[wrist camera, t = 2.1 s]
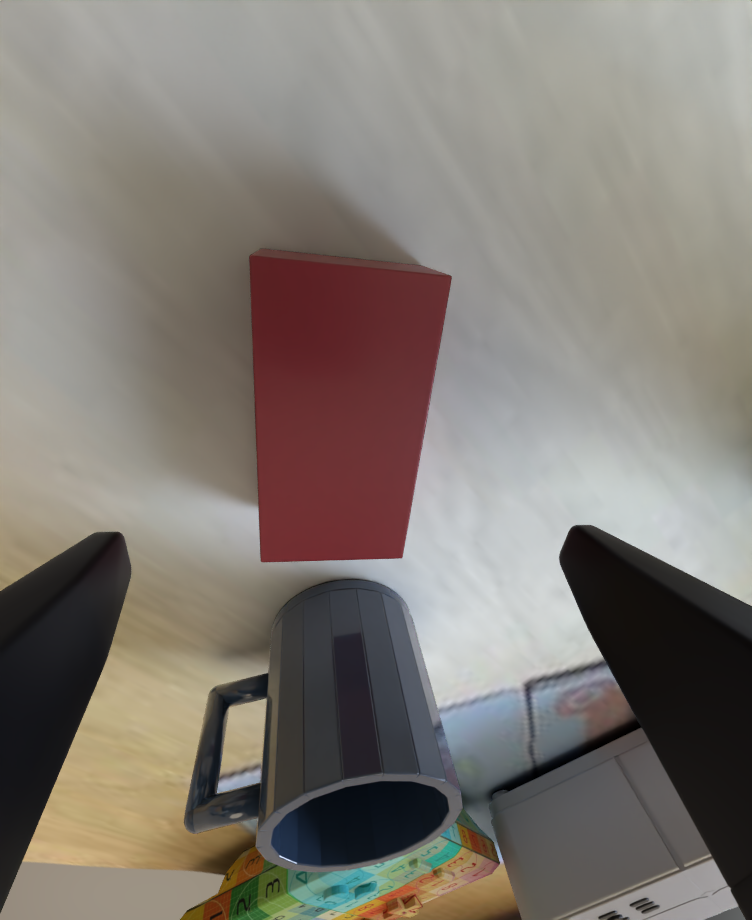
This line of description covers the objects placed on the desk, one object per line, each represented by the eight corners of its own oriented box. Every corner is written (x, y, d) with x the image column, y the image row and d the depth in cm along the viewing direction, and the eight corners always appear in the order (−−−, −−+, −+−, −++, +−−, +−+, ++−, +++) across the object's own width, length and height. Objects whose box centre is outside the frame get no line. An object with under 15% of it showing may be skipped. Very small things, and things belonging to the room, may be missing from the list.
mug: (401, 563, 19) (456, 751, 12) (417, 656, 23) (466, 841, 16) (189, 612, 19) (124, 836, 12) (239, 699, 22) (211, 909, 16)
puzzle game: (505, 881, 30) (289, 977, 33) (481, 802, 34) (290, 895, 37) (420, 844, 24) (170, 965, 27) (403, 754, 28) (187, 870, 32)
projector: (476, 795, 33) (521, 941, 26) (745, 663, 29) (877, 795, 22) (551, 842, 41) (600, 964, 34) (769, 744, 37) (872, 859, 30)
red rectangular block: (260, 248, 12) (248, 254, 10) (423, 265, 13) (452, 275, 11) (266, 511, 17) (260, 563, 14) (387, 510, 18) (402, 558, 15)
